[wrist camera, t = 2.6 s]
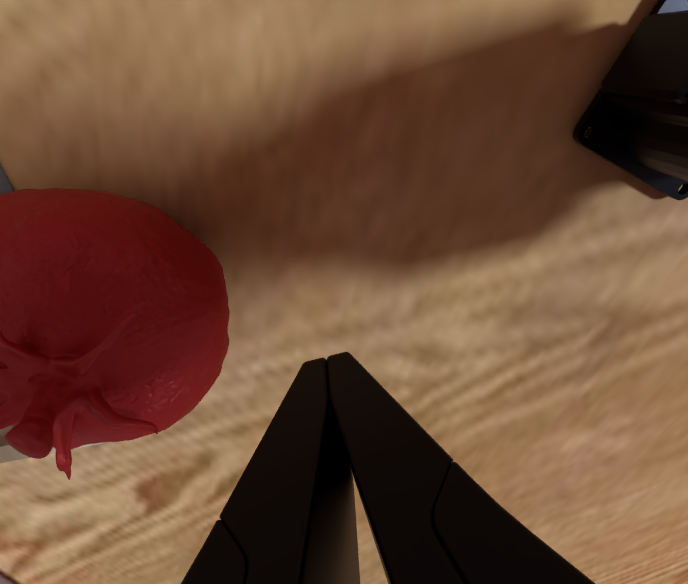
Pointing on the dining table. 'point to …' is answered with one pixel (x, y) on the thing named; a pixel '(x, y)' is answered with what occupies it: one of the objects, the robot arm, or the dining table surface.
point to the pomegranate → (102, 320)
